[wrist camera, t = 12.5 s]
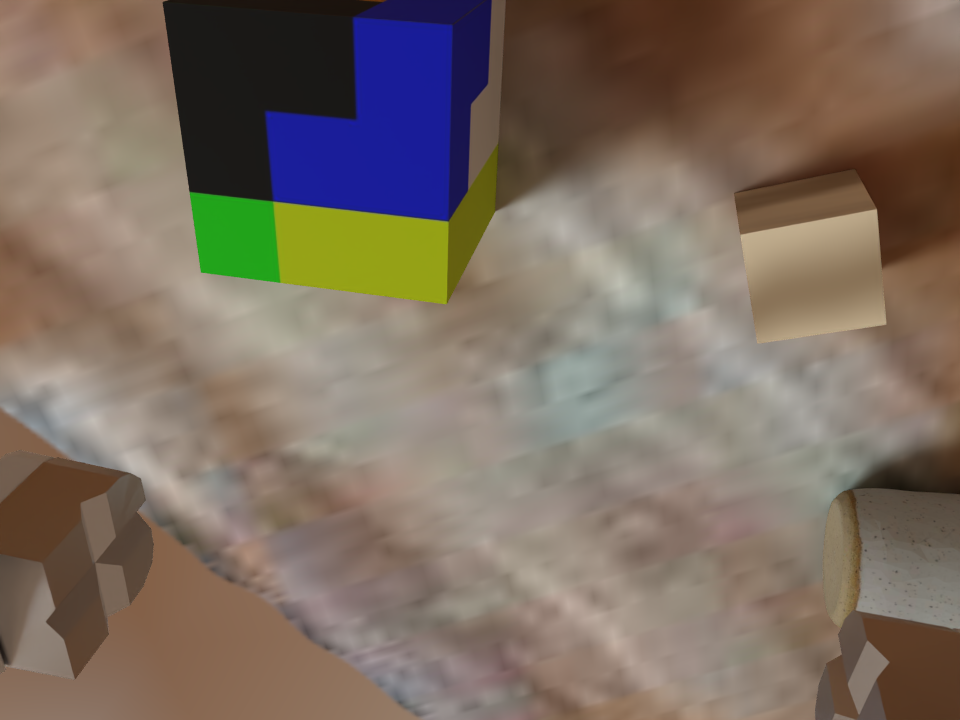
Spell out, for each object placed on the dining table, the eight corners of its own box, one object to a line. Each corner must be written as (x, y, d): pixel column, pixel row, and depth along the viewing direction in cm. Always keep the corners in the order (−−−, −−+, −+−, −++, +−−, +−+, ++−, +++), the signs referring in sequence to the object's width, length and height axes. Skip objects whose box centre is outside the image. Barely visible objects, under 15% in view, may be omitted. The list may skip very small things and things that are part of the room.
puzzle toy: (506, -16, 36) (452, 24, 27) (495, 211, 41) (446, 304, 32) (280, -32, 37) (162, 1, 29) (296, 189, 42) (200, 272, 34)
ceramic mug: (828, 456, 44) (853, 563, 37) (1005, 465, 42) (1064, 579, 36) (805, 603, 49) (823, 719, 43) (961, 617, 47) (1004, 740, 41)
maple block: (733, 192, 38) (740, 234, 34) (854, 168, 37) (876, 209, 32) (749, 292, 40) (757, 343, 36) (864, 273, 39) (886, 324, 35)
